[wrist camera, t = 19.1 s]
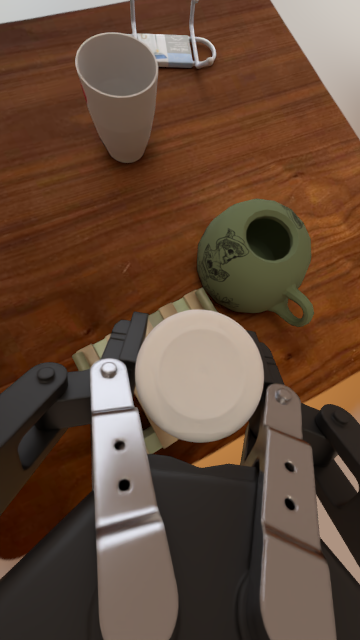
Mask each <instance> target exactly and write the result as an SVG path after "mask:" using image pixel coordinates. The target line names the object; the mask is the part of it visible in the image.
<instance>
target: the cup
mask: <svg viewBox="0 0 360 640" xmlns="http://www.w3.org/2000/svg"><path fill="white" fill-rule="evenodd" d="M75 63H76V69H77V72H78V76H79V79H80V82H81V86H82V89H83V93H84V96H85V99H86V103H87V106H88V109H89V112H90V115H91V117H92V120H93V122H94V124H95V127H96V129H97V132H98V134H99V137H100V139H101V140H102V142H103V144H104V145H105V147H106V149H107V150H108V152H109V154H110V155H111V156H112V157H113V158H114V159H115V160H117V161H119V162H123V163H131V162H135V161H137V160H139V159H140V158H141V157H142V155H143V153H144V151H145V148H146V146H147V143H148V140H149V138H150V133H151V128H152V123H153V118H154V112H155V103H156V91H157V79H158V63H157V59H156V57H155V55H154V53H153V52H152V51H151V49H150V48H149V47H148V46H147V45H146V44H144V43H143V42H142V41H140V40H139V39H137V38H135V37H132V36H130V35H127V34H123V33H114V32H109V33H102V34H98V35H95V36H93V37H91V38H89V39H87V40H86V41H85V42H84V43H83V44H82V45H81V46H80V48H79V49H78V51H77V54H76V59H75Z"/></svg>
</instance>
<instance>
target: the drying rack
mask: <svg viewBox="0 0 360 640" xmlns="http://www.w3.org/2000/svg"><path fill="white" fill-rule="evenodd" d="M197 309H200V310H210V311H215V312H217V311H216V309H215V307H214V306H213V304H212V302H211V301H210V299H209V297H208V296H207V294H206V292H205V290H204V289H203V288H200V289H198V290H197V289H196V290H194V291H192V292H190V293H188V294H186V295H184V297H183V298H182V299H180V300H178V301H176V302H174V303H172V302H171V303H169V304H167V305H165V306H163V307H161V308H159V311H157V312H155V313H153V314H151V315H149V316H148V323H147V330H146V337H147V336H148V334H149V333H150V332H151V331H152V330H153V329H154V327H156V326H157V325H158V324H159V323H160V322H162V321H163V320H164V319H166V318H168V317H170V316H172V315H174V314H177V313H179V312H183V311H187V310H197ZM110 335H111V334H109V335H108V336H106V337H105V339H103V340H101V341H99V342H98V343H96V344H94V345H92V344H90V345H88V346H86V347H84V348H83V349H81V350H79V351H77V353H75V354H74V355H73V356H72V358H73V360H74V362H75V364H76V366H77V368H78V370H79V371H84V370H87V369H90V368H91V366H92V365H93V364H94V363H95V362H97V361H98V360H100V359H101V357H102V354H103V352H104V350H105V347H106V345H107V342H108V340H109V338H110ZM146 337H145V338H146ZM134 393H135V395H136V397H137V399H138V401H139V403H140V405H141V407H142V409H143V410H144V408H143V406H142V404H141V402H140V399H139V397H138V393H137V389H136V386H135V390H134ZM144 412H145V414H146V416H147V418H148V420H149V422H150V424H151V426H150V427H148V428H147V429H145V430H144V431H143V436H144V441H145V446H146V451H147V454H153V453H154V452H156V451H157V450H159V449H161V448H162V447H163V448H164V449H165V448H166V447H168V446H169V445H171V444H173V443H174V442H176V441H177V440H178V438H176V437H174V436H172V435H170V434H168V433H166V432H165V431H163V430H162V429H161V428H159V427H158V426H157V425H156V424H155V423H154V422H153V421H152V420H151V418H150V417H149V416H148V414H147V413H146V411H145V410H144Z"/></svg>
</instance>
